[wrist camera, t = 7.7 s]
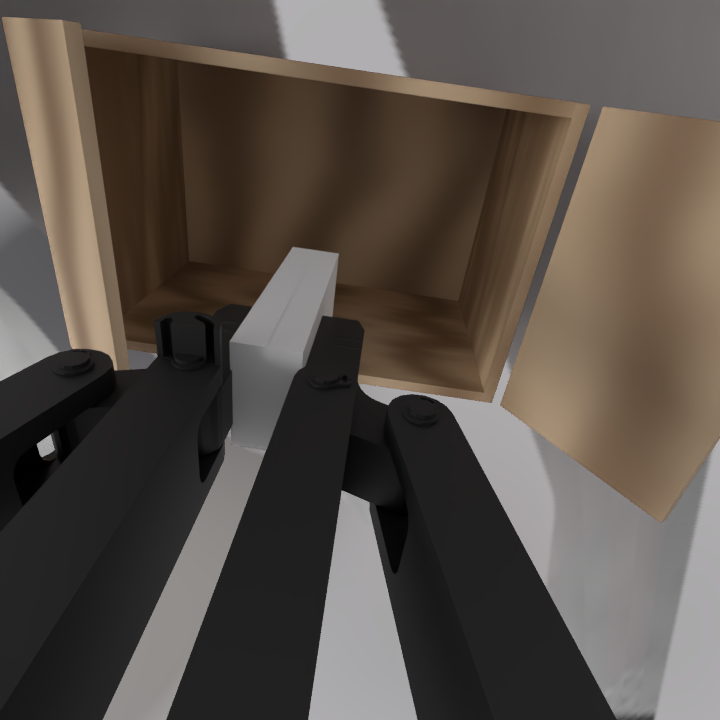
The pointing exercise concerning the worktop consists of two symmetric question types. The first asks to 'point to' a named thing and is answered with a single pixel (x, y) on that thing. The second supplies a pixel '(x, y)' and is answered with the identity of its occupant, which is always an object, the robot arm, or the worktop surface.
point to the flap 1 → (69, 177)
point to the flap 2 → (632, 311)
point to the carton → (329, 198)
